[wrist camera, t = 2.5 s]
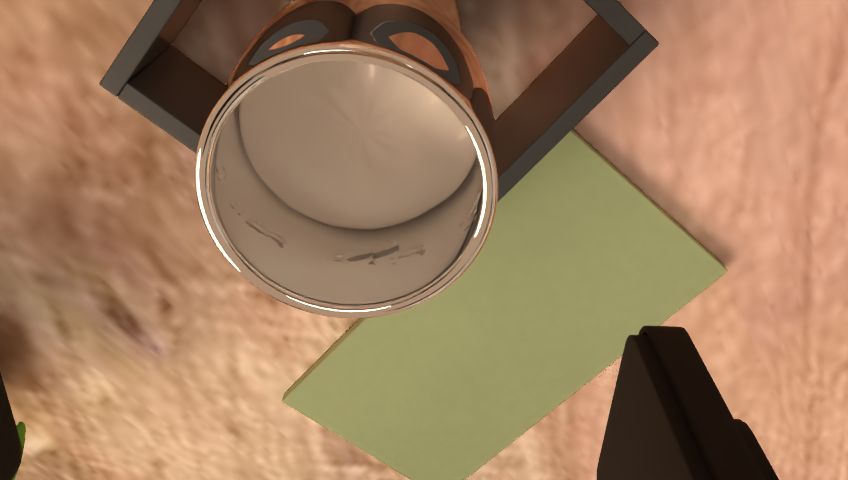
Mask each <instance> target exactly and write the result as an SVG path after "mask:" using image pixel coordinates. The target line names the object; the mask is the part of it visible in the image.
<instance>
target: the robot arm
mask: <svg viewBox="0 0 848 480" xmlns="http://www.w3.org/2000/svg"><path fill="white" fill-rule="evenodd" d="M21 458H22V445H21V441H20V438H19V434H18V431H17V428H16V424H15V421H14V417H13V414H12V410H11V407H10V404H9V400H8V397H7V393H6V390H5V386H4V383H3V380H2V376H1V373H0V480H12V479H13V477H14V476H15V474H16V472H17V470H18V468H19V466H20V463H21ZM597 480H779V479H778V477H777V475H776V474H775V472H774V470H773V468H772V466H771V465H770V463H769V461H768V459H767V457H766V456H765V454H764V452H763V450H762V448H761V446H760V445H759V443H758V441H757V439H756V437H755V436H754V434H753V432H752V431H751V429H750V428H749V427H748V425H747V424H746V423H745V422H743V421H741V420H740V419H733V417H732V415H731V413H730V411H729V409H728V407H727V406H726V404H725V402H724V400H723V398H722V396H721V394H720V392H719V391H718V389H717V387H716V385H715V383H714V381H713V379H712V377H711V376H710V374H709V372H708V370H707V368H706V366H705V364H704V362H703V361H702V359H701V357H700V355H699V353H698V351H697V349H696V348H695V346H694V344H693V342H692V340H691V338H690V336H689V334H688V333H687V331H686V330H685V329H684V328H682V327H669V326H643V327H642V328H641V329H640V331H639V334H638V335H629V336H628V338H627V340H626V343H625V347H624V351H623V356H622V360H621V365H620V369H619V373H618V378H617V382H616V387H615V391H614V396H613V400H612V404H611V409H610V413H609V418H608V422H607V427H606V431H605V436H604V440H603V444H602V449H601V453H600V458H599V462H598V467H597Z"/></svg>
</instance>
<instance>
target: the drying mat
mask: <svg viewBox="0 0 848 480" xmlns="http://www.w3.org/2000/svg"><path fill="white" fill-rule="evenodd" d="M727 271H728V270H727V269H726V267H725V266H724V264H723V263H721V262H720V261H719V260H718V259H717V258H716V257H715V256H714V255H713V254H711V253H710V252H709V251H708V250H707V249H706V248H705V247H704V246H702V245H701V244H700V243H699V242H698V241H697V240H696V239H695V238H694V237H692V236H691V235H690V234H689V233H688V232H687V231H686V230H685V229H683V228H682V227H681V226H680V225H679V224H678V223H677V222H676V221H675V220H673V219H672V218H671V217H670V216H669V215H668V214H667V213H666V212H664V211H663V210H662V209H661V208H660V207H659V206H658V205H657V204H655V203H654V202H653V201H652V200H651V199H650V198H649V197H648V196H647V195H645V194H644V193H643V192H642V191H641V190H640V189H639V188H638V187H636V186H635V185H634V184H633V183H632V182H631V181H630V180H629V179H628V178H626V177H625V176H624V175H623V174H622V173H621V172H620V171H619V170H617V169H616V168H615V167H614V166H613V165H612V164H611V163H610V162H609V161H607V160H606V159H605V158H604V157H603V156H602V155H601V154H600V153H598V152H597V151H596V150H595V149H594V148H593V147H592V146H591V145H590V144H588V143H587V142H586V141H585V140H584V139H583V138H582V137H581V136H579V135H578V134H577V133H576V132H575V131H574V130H573V129H572V130H571V131H570V132H569V133H568V134H567V135H566V136H565V137H564V138H563V139H562V140H561V141H560V142H559V143H558V144H557V145H556V146H555V147H554V148H553V149H552V150H551V151H549V152H548V153H547V154H546V155H545V156H544V157H543V158H542V159H541V160H540V161H539V162H538V163H537V164H536V165H535V166H534V167H533V168H532V169H531V170H530V171H529V172H528V173H527V174H526V175H525V176H524V177H523V178H522V179H521V180H520V181H519V182H518V183H517V184H516V185H515V186H514V187H513V188H512V189H511V190H510V191H509V192H508V193H507V194H506V195H505V196H504V197H503V198H501V199H500V200H499V201H498V202H497V208H496V213H495V217H494V221H493V225H492V228H491V231H490V233H489V236H488V238H487V240H486V242H485V244H484V246H483V248H482V250H481V252H480V253H479V255H478V256H477V258H476V259H475V261H474V262H473V263H472V265H471V266H470V267H469V268H468V269H467V271H466V272H465V273H464V274H463V275H462V276H461V277H460V278H459V279H458V280H457V281H456V282H454V283H453V284H452V285H451V286H450V287H448V288H447V289H446V290H444V291H443V292H441V293H440V294H438V295H437V296H435V297H433V298H432V299H430V300H428V301H426V302H424V303H422V304H420V305H418V306H415V307H413V308H410V309H407V310H404V311H401V312H398V313H394V314H390V315H385V316H379V317H371V318H360V319H359V320H358V321H357V322H356V323H355V324H354V325H353V326H352V327H351V328H350V329H349V330H348V331H347V332H346V333H345V334H344V335H343V336H342V337H341V338H340V339H339V340H338V341H337V342H336V343H335V344H334V345H333V346H332V347H331V348H330V349H329V350H328V351H327V352H326V353H325V354H324V355H323V356H322V357H321V358H320V359H319V360H318V361H317V362H316V363H315V364H314V365H313V366H312V367H311V368H310V369H309V370H308V371H307V372H306V373H305V374H304V375H303V376H302V377H301V378H300V379H299V380H298V381H297V382H296V383H295V384H294V385H293V386H292V387H291V388H290V389H289V390H288V391H287V392H286V393H285V394H284V396H283V400H282V401H283V402H284V403H286V404H287V405H289V406H290V407H292V408H294V409H295V410H297V411H299V412H300V413H302V414H304V415H305V416H307V417H309V418H310V419H312V420H314V421H315V422H317V423H318V424H320V425H322V426H323V427H325V428H327V429H328V430H330V431H332V432H333V433H335V434H337V435H338V436H340V437H342V438H343V439H345V440H346V441H348V442H350V443H351V444H353V445H355V446H356V447H358V448H360V449H361V450H363V451H365V452H366V453H368V454H370V455H371V456H373V457H374V458H376V459H378V460H379V461H381V462H383V463H384V464H386V465H388V466H389V467H391V468H393V469H394V470H396V471H398V472H399V473H401V474H402V475H404V476H406V477H407V478H409V479H411V480H465V479H466V478H467V477H469V476H470V475H471V474H473V473H474V472H475V471H476V470H478V469H479V468H480V467H481V466H483V465H484V464H485V463H486V462H488V461H489V460H490V459H491V458H493V457H494V456H495V455H496V454H498V453H499V452H500V451H502V450H503V449H504V448H505V447H507V446H508V445H509V444H510V443H512V442H513V441H514V440H515V439H517V438H518V437H519V436H520V435H522V434H523V433H524V432H526V431H527V430H528V429H529V428H531V427H532V426H533V425H534V424H536V423H537V422H538V421H539V420H541V419H542V418H543V417H544V416H546V415H547V414H548V413H550V412H551V411H552V410H553V409H555V408H556V407H557V406H558V405H560V404H561V403H562V402H563V401H565V400H566V399H567V398H568V397H570V396H571V395H572V394H573V393H575V392H576V391H577V390H579V389H580V388H581V387H582V386H584V385H585V384H586V383H587V382H589V381H590V380H591V379H592V378H594V377H595V376H596V375H597V374H599V373H600V372H601V371H603V370H604V369H605V368H606V367H608V366H609V365H610V364H611V363H613V362H614V361H615V360H616V359H618V358H619V357H620V356H621V355H623V351H624V347H625V343H626V340H627V338H628V336H629V335H638V334H639V331H640V329H641V328H642V327H643V326H659V325H661V324H662V323H663V322H664V321H666V320H667V319H668V318H669V317H671V316H672V315H673V314H674V313H676V312H677V311H678V310H680V309H681V308H682V307H683V306H685V305H686V304H687V303H688V302H690V301H691V300H692V299H693V298H695V297H696V296H697V295H698V294H700V293H701V292H702V291H704V290H705V289H706V288H707V287H709V286H710V285H711V284H712V283H714V282H715V281H716V280H717V279H719V278H720V277H721V276H722V275H724V274H725V273H726V272H727Z"/></svg>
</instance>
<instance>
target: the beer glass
mask: <svg viewBox="0 0 848 480" xmlns="http://www.w3.org/2000/svg"><path fill="white" fill-rule="evenodd" d="M195 188H196V195H197V201H198V205H199V208H200V212H201V215H202V218H203V220H204V223H205V225H206V227H207V230H208V232H209V234H210V236H211V237H212V239H213V241H214V243H215V244H216V246H217V247H218V249H219V250H220V252H221V253H222V254H223V256H224V257H225V258H226V259H227V261H228V262H229V263H230V264H231V265H232V266H233V267H234V268H235V269H236V270H237V271H238V272H239V273H240V274H241V275H242V276H243V277H244V278H245V279H247V280H248V281H249V282H250V283H251V284H253V285H254V286H256V287H257V288H258V289H260V290H261V291H263V292H264V293H266V294H268V295H269V296H271V297H273V298H275V299H277V300H279V301H281V302H283V303H285V304H287V305H290V306H292V307H295V308H297V309H300V310H303V311H307V312H310V313H314V314H318V315H323V316H329V317H337V318H371V317H379V316H385V315H390V314H394V313H398V312H401V311H404V310H407V309H410V308H413V307H415V306H418V305H420V304H422V303H424V302H426V301H428V300H430V299H432V298H433V297H435V296H437V295H438V294H440V293H441V292H443V291H444V290H446V289H447V288H448V287H450V286H451V285H452V284H453V283H454V282H456V281H457V280H458V279H459V278H460V277H461V276H462V275H463V274H464V273H465V272H466V271H467V269H468V268H469V267H470V266H471V265H472V263H473V262H474V261H475V259H476V258H477V256H478V255H479V253H480V252H481V250H482V248H483V246H484V244H485V242H486V240H487V238H488V236H489V233H490V231H491V228H492V225H493V221H494V217H495V213H496V208H497V200H498V175H497V168H496V134H495V123H494V116H493V109H492V103H491V97H490V93H489V89H488V86H487V83H486V80H485V77H484V74H483V71H482V68H481V65H480V63H479V60H478V58H477V56H476V54H475V52H474V50H473V48H472V46H471V45H470V43H469V42H468V40H467V39H466V37H465V36H464V34H463V33H462V32H461V31H460V19H459V13H458V8H457V5H456V2H455V0H296V1H294V2H293V3H291V4H290V5H288V6H287V7H286V8H284V9H283V10H282V11H281V12H280V13H279V14H277V15H276V16H275V17H274V18H273V19H272V20H271V21H270V22H269V23H268V24H267V25H266V26H265V27H264V28H263V29H262V30H261V31H260V32H259V34H258V35H257V36H256V37H255V38H254V40H253V41H252V42H251V44H250V45H249V47H248V48H247V50H246V51H245V53H244V54H243V56H242V57H241V59H240V60H239V62H238V63H237V65H236V67H235V68H234V70H233V72H232V74H231V76H230V78H229V80H228V82H227V84H226V86H225V88H224V90H223V92H222V94H221V96H220V99H219V101H218V102H217V104H216V105H215V107H214V108H213V110H212V112H211V113H210V115H209V117H208V119H207V121H206V123H205V125H204V128H203V130H202V133H201V136H200V139H199V143H198V147H197V153H196V159H195Z"/></svg>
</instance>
